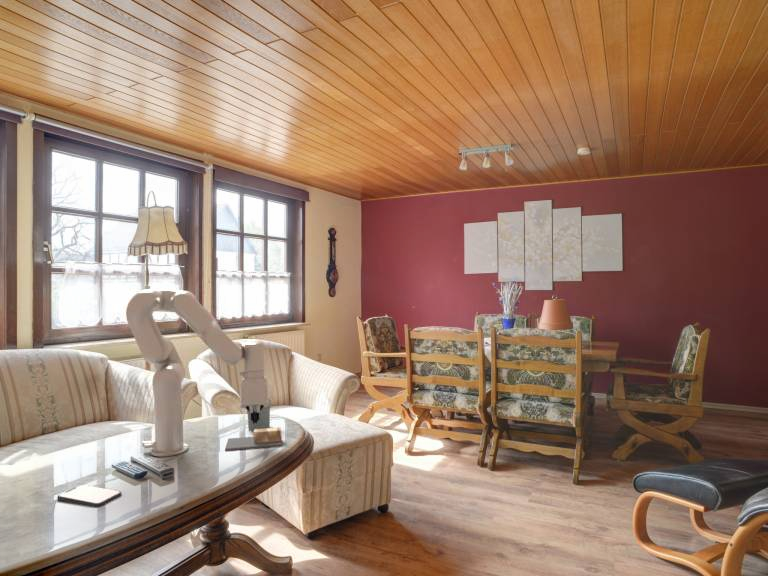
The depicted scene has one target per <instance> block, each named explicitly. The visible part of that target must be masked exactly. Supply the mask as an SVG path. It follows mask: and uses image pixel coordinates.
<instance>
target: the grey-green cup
mask: <svg viewBox="0 0 768 576" xmlns="http://www.w3.org/2000/svg"><path fill="white" fill-rule="evenodd" d="M271 400H272V399H271V398H270V397H268V401H269V406H267V407H264V408H262V409H261V410H260V412H259V420H257V423H254V424H253V421H251V413H250V412H249V411H248V410H247V409H246V413H247V423H248V424H247V426H248V431H250V430H251V431H250V432H254V429H266V428H270V417H271V414H270V413H271V403H272V401H271ZM253 409H254V412H256V409H257V405H253Z"/></svg>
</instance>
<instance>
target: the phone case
mask: <svg viewBox="0 0 768 576" xmlns="http://www.w3.org/2000/svg"><path fill="white" fill-rule="evenodd" d="M121 496H122V491H120V490H116V489H110V488H104V487H98V486H94V485H87V484H80V485H78V486H75V487H73V488H71V489H69V490H66V491H64V492H62V493H59V494H58V495H57V496H56V497H57V498H56V499H57V501H58V502H63V503H70V504H76V505H80V504H81V506H86V505H87V506H88V507H92V506H94V507H93V508H98V506H99V507H102V506H104V505H106V504H108V503H110V502H112V501H113V499H114V500H116V499H117V497H118V498H119V497H121ZM115 498H116V499H115ZM111 500H112V501H111ZM109 501H110V502H109ZM105 503H106V504H105ZM101 505H102V506H101ZM87 506H86V507H87Z"/></svg>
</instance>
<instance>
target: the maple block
mask: <svg viewBox="0 0 768 576" xmlns="http://www.w3.org/2000/svg"><path fill="white" fill-rule="evenodd" d="M281 428H282V427H280V426H279V427H269V428H266V429H254V431H253V437H254V443H260V442H272V441H281V442H282V431H281V430H282V429H281Z"/></svg>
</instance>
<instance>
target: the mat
mask: <svg viewBox="0 0 768 576" xmlns="http://www.w3.org/2000/svg"><path fill="white" fill-rule="evenodd" d="M276 446H279V447H282V440H281V441H272V442H260V443H254V436H246V437H245V436H244V437H243V436H242V437H231V438H229V437H228V438H227V442H226V445H225V449H224V451H225V452H228V451H227V450H231V451H241V450H240V449H243V450H251V449H250V448H255V449H264V448H263V447H267V448H276Z"/></svg>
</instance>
